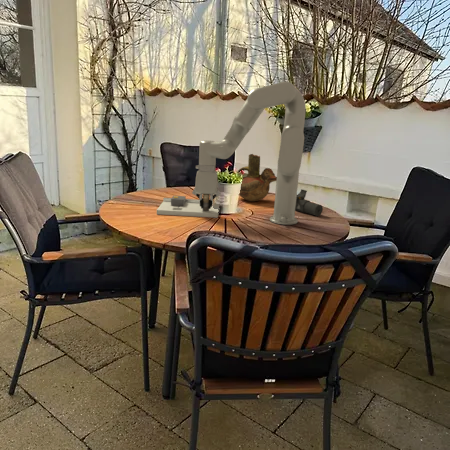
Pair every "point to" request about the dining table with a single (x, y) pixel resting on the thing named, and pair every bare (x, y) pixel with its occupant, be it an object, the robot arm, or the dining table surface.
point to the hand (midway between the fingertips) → (205, 207)
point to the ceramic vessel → (256, 180)
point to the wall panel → (186, 209)
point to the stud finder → (178, 200)
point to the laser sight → (307, 205)
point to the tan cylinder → (206, 202)
